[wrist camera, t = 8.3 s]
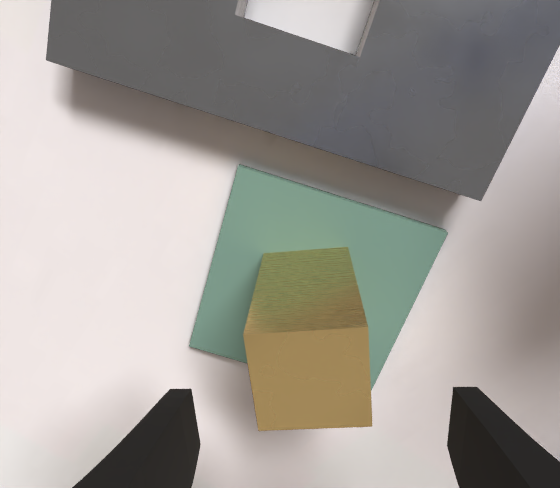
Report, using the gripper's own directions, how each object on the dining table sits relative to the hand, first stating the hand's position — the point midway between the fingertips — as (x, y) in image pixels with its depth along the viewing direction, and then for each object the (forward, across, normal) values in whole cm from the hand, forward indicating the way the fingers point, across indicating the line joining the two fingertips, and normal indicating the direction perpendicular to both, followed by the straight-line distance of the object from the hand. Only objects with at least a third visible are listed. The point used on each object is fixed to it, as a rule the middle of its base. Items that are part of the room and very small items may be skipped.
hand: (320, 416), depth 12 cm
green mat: (+10, 0, +1) cm, 10 cm away
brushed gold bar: (+9, 0, +1) cm, 9 cm away
